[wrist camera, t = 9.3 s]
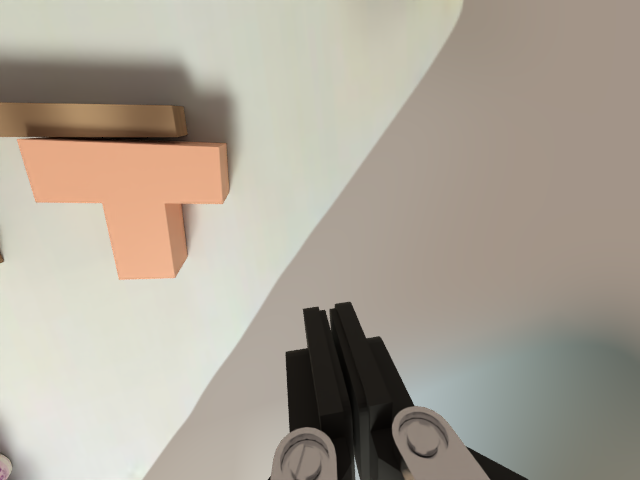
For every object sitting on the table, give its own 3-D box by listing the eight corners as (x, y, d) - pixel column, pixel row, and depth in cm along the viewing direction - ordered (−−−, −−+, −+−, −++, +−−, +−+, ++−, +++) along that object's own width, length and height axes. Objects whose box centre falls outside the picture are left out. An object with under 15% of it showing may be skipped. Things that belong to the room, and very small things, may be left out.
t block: (89, 258, 26) (59, 281, 22) (58, 136, 22) (16, 139, 18) (233, 255, 28) (227, 276, 24) (226, 143, 24) (218, 147, 20)
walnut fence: (-25, 262, 24) (-61, 281, 22) (-102, 102, 20) (-161, 99, 17) (205, 250, 27) (197, 265, 24) (183, 106, 23) (171, 105, 20)
